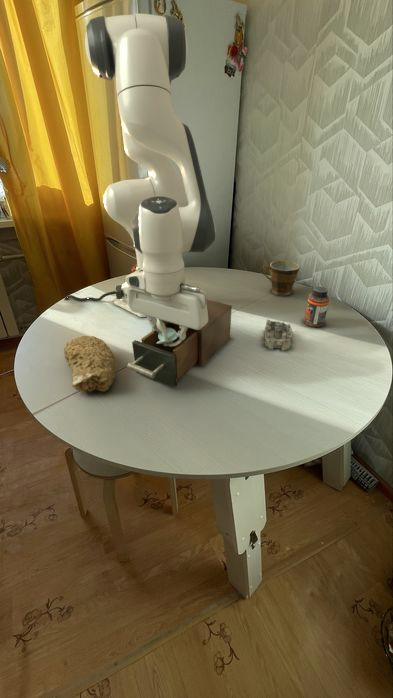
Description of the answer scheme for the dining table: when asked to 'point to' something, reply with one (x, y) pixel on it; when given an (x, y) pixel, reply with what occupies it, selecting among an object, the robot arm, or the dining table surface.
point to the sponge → (90, 363)
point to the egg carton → (277, 335)
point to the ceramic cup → (282, 276)
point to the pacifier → (166, 335)
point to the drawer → (165, 356)
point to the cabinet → (213, 330)
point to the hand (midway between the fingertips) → (168, 335)
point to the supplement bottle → (317, 307)
